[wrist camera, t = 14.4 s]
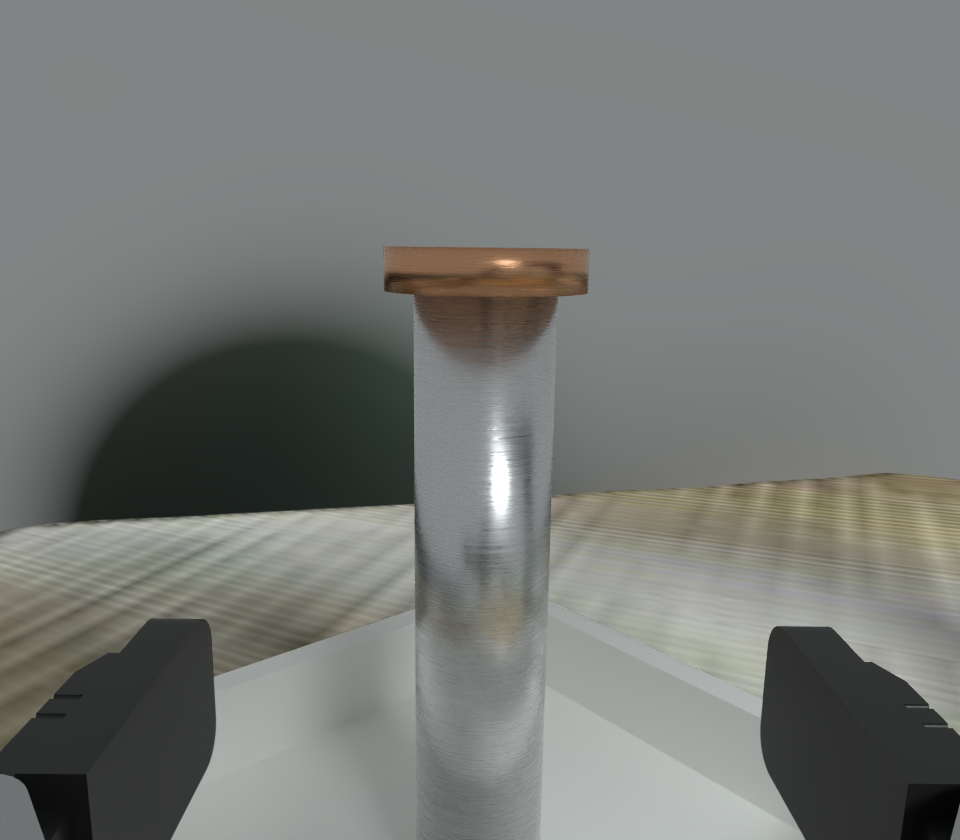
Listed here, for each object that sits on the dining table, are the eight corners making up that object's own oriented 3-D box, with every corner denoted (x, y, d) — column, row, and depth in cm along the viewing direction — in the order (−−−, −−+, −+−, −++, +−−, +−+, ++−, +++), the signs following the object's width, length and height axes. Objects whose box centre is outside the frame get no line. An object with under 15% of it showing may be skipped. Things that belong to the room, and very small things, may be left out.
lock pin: (485, 794, 26) (494, 247, 22) (600, 882, 22) (633, 249, 19) (357, 865, 23) (343, 246, 19) (466, 981, 19) (474, 247, 16)
